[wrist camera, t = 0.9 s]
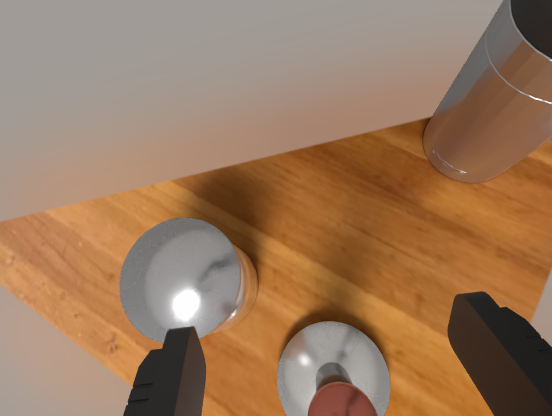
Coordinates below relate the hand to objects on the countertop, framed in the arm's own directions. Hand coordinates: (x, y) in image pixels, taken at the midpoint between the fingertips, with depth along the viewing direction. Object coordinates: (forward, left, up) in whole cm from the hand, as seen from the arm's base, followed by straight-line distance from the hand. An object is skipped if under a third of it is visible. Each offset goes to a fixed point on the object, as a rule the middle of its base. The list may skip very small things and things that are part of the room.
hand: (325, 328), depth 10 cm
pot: (+6, -9, -23) cm, 26 cm away
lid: (+3, +5, -23) cm, 24 cm away
